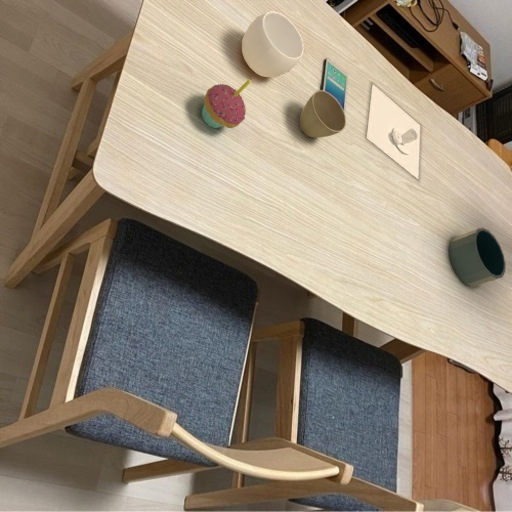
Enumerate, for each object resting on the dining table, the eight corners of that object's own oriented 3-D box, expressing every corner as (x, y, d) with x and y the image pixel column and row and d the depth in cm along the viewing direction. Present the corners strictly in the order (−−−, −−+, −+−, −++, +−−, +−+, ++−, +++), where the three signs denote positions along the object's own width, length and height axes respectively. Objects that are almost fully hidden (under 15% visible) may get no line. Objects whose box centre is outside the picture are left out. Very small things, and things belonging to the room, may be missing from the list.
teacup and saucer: (388, 142, 147) (401, 134, 144) (390, 120, 151) (402, 112, 148) (410, 160, 151) (423, 153, 148) (411, 138, 155) (424, 131, 152)
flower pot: (326, 124, 132) (348, 108, 127) (319, 155, 127) (343, 140, 122) (294, 98, 128) (316, 81, 123) (286, 129, 123) (309, 112, 118)
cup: (284, 71, 129) (314, 46, 122) (262, 97, 121) (292, 71, 114) (247, 28, 126) (275, -1, 119) (222, 51, 118) (251, 22, 111)
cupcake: (201, 89, 110) (238, 53, 102) (234, 116, 114) (273, 84, 105) (187, 119, 105) (225, 84, 97) (223, 146, 109) (262, 115, 100)
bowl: (475, 246, 158) (500, 236, 153) (483, 292, 152) (509, 283, 147) (445, 231, 151) (471, 221, 145) (452, 279, 145) (479, 270, 140)
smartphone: (348, 73, 144) (344, 116, 137) (345, 74, 145) (342, 118, 137) (327, 56, 141) (322, 99, 133) (324, 58, 141) (319, 101, 134)
